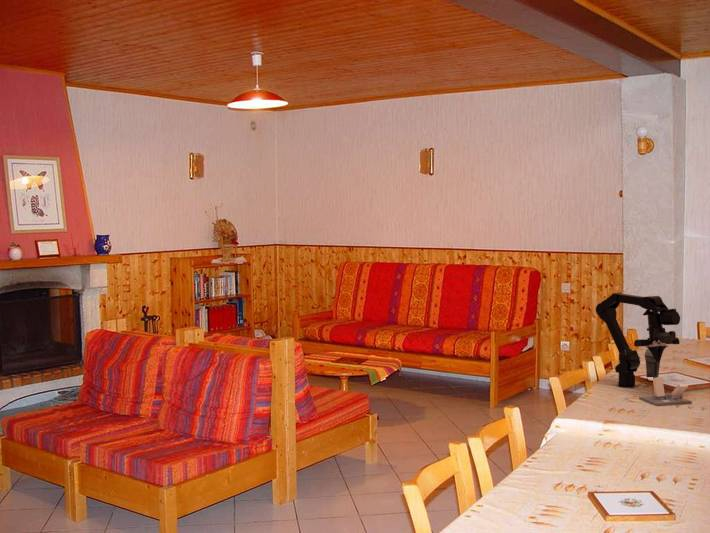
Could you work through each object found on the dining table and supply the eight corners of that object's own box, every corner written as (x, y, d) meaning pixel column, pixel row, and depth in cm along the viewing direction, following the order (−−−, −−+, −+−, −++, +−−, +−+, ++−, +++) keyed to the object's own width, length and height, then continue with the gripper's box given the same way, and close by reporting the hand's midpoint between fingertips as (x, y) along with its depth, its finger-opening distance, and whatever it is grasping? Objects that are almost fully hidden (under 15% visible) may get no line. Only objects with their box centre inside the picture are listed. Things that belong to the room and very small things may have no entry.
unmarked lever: (654, 398, 335) (652, 377, 337) (663, 397, 336) (660, 377, 337) (656, 398, 334) (654, 377, 335) (665, 397, 335) (662, 377, 336)
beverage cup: (658, 379, 378) (659, 336, 377) (662, 382, 371) (663, 338, 369) (642, 379, 379) (643, 335, 377) (646, 382, 372) (647, 338, 370)
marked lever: (669, 395, 337) (678, 383, 331) (677, 394, 338) (686, 383, 332) (670, 398, 336) (680, 386, 330) (679, 397, 337) (688, 386, 331)
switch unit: (639, 399, 340) (639, 392, 339) (673, 396, 343) (673, 389, 343) (656, 406, 328) (656, 398, 328) (691, 403, 332) (691, 396, 332)
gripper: (647, 326, 341) (650, 364, 340) (686, 324, 346) (689, 361, 345) (632, 326, 351) (634, 363, 350) (669, 324, 356) (672, 360, 355)
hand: (658, 362), depth 350 cm, fingers closed
